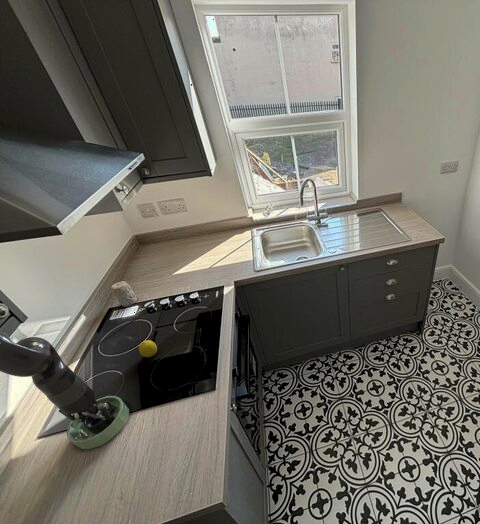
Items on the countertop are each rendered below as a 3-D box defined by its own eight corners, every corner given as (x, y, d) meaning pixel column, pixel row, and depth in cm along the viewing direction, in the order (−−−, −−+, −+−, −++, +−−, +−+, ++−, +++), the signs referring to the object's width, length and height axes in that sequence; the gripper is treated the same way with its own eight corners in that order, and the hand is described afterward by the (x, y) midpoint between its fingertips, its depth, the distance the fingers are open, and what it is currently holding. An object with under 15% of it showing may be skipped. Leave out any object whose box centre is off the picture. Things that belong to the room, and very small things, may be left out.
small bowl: (90, 439, 89) (81, 431, 86) (93, 421, 93) (85, 414, 91) (113, 428, 91) (106, 420, 89) (115, 411, 96) (108, 404, 93)
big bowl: (72, 460, 85) (62, 452, 82) (80, 418, 95) (71, 410, 92) (129, 433, 90) (121, 425, 88) (130, 396, 101) (123, 388, 98)
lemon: (161, 348, 118) (153, 334, 113) (158, 359, 113) (149, 345, 109) (146, 352, 116) (137, 338, 112) (143, 363, 112) (133, 349, 108)
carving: (120, 310, 138) (106, 290, 131) (126, 299, 144) (114, 280, 138) (134, 307, 139) (122, 288, 132) (140, 297, 145) (128, 278, 138)
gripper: (34, 407, 80) (70, 436, 89) (85, 405, 79) (116, 435, 89) (56, 382, 86) (88, 412, 95) (104, 380, 85) (131, 410, 95)
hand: (101, 423), depth 92 cm, fingers closed on small bowl, 6 cm apart
